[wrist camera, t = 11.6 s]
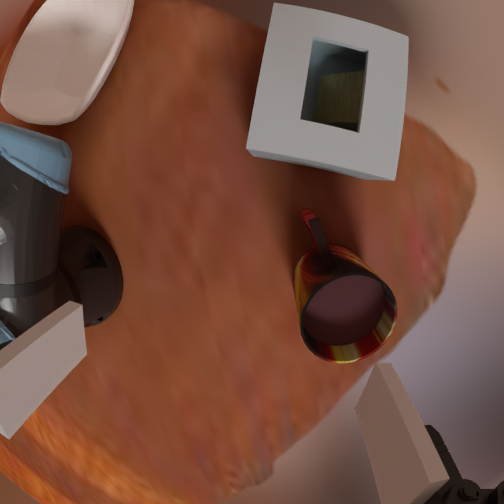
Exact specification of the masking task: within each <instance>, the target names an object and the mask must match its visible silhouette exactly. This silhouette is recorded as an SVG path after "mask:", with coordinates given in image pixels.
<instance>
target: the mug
mask: <svg viewBox="0 0 504 504" xmlns="http://www.w3.org/2000/svg"><path fill="white" fill-rule="evenodd" d="M300 212H301V215H302V217H303V220H304V222H305V225H306V227H307V229H308V232H309V234H310V236H311V239H312V241H313V244H314V246H315V248H313V249H311V250H310V251H308V252H307V253H306V254H305V255H304V256H303V257H302V258H301V259H300V261H299V262H298V264H297V266H296V268H295V271H294V274H293V288H294V294H295V300H296V306H297V312H298V318H299V324H300V330H301V335H302V338H303V341H304V343H305V344H306V346H307V347H308V349H309V350H310V351H311V352H312V353H313V354H314V355H316V356H318V357H319V358H321V359H323V360H326V361H329V362H333V363H350V362H355V361H359V360H361V359H364V358H366V357H368V356H370V355H371V354H373V353H374V352H376V351H377V350H378V349H379V348H381V346H382V345H383V344H384V343H385V342H386V341H387V339H388V338H389V336H390V335H391V333H392V331H393V329H394V326H395V323H396V318H397V304H396V300H395V297H394V295H393V293H392V291H391V289H390V288H389V287H388V286H387V284H386V283H385V282H384V281H383V280H382V279H381V278H380V277H379V276H378V275H377V274H376V273H375V272H374V271H373V270H372V269H371V268H370V267H369V266H368V265H367V264H366V263H365V262H364V261H362V260H361V259H360V258H359V257H358V256H357V255H356V254H355V253H354V252H353V251H352V250H350V249H349V248H347V247H345V246H342V245H338V244H328V242H327V239H326V237H325V234H324V232H323V229H322V227H321V224H320V221H319V219H318V218H317V217H316V216H315V215H314V214H313V213H312V212H311V211H310V210H309V209H305V210H302V211H300Z"/></svg>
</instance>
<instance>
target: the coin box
mask: <svg viewBox="0 0 504 504" xmlns="http://www.w3.org/2000/svg"><path fill="white" fill-rule="evenodd" d="M408 38H409V37H408V36H405V35H403V34H400V33H397V32H394V31H392V30H389V29H386V28H383V27H380V26H377V25H374V24H371V23H367V22H364V21H361V20H357V19H354V18H350V17H346V16H342V15H338V14H334V13H330V12H325V11H321V10H316V9H311V8H305V7H300V6H294V5H287V4H280V3H274V5H273V10H272V15H271V20H270V24H269V29H268V34H267V39H266V44H265V49H264V54H263V59H262V65H261V70H260V75H259V80H258V85H257V91H256V96H255V101H254V107H253V112H252V118H251V123H250V129H249V134H248V140H247V146H246V149H247V150H248V151H249V152H250V153H251V154H252V156H253V157H260V158H265V159H271V160H277V161H282V162H288V163H293V164H298V165H303V166H308V167H313V168H317V169H322V170H327V171H331V172H336V173H340V174H344V175H348V176H353V177H357V178H361V179H367V180H391V181H395V177H396V171H397V165H398V158H399V152H400V145H401V137H402V129H403V121H404V111H405V101H406V88H407V72H408V71H407V70H408V41H409V39H408ZM358 71H365V74H364V83H363V92H362V100H361V108H360V116H359V123H358V130H346V129H342V128H338V127H334V126H329V125H325V124H320V123H316V122H313V119H314V113H315V106H316V100H317V93H318V87H319V80H320V76H323V75H331V74H339V73H348V72H358Z"/></svg>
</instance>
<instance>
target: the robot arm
mask: <svg viewBox="0 0 504 504" xmlns="http://www.w3.org/2000/svg"><path fill="white" fill-rule="evenodd" d="M71 164H72V151H71V148H70V147H69V145H68V144H67V143H66V142H65V141H63V140H60V139H58V138H55V137H52V136H49V135H45V134H42V133H39V132H35V131H32V130H29V129H26V128H22V127H19V126H15V125H12V124H8V123H4V122H0V433H1V434H2V435H4V436H5V437H6V438H8V439H10V438H11V437H12V436H13V435H14V433H15V432H16V431H17V430H18V429H19V428H20V427H21V425H22V424H23V423H24V422H25V421H26V420H27V419H28V417H29V416H30V415H31V414H32V413H33V412H34V411H35V410H36V408H37V407H38V406H39V405H40V404H41V403H42V402H43V401H44V400H45V399H46V397H47V396H48V395H49V394H50V393H51V392H52V391H53V390H54V389H55V388H56V387H57V385H58V384H59V383H60V382H61V381H62V380H63V379H64V378H65V377H66V376H67V375H68V374H69V373H70V372H71V371H72V369H73V368H74V367H75V366H76V365H77V364H78V363H79V362H80V361H81V360H82V359H83V358H84V357H85V356H86V355H87V350H86V341H85V332H84V328H85V327H89V326H94V325H97V324H99V323H101V322H103V321H105V320H106V319H107V318H108V317H109V316H110V315H111V314H113V313H114V311H115V310H116V309H117V307H118V306H119V304H120V301H121V298H122V294H123V277H122V271H121V267H120V264H119V262H118V259H117V257H116V255H115V253H114V251H113V250H112V248H111V247H110V245H109V244H108V243H107V242H106V241H105V240H104V239H103V238H102V237H101V236H100V235H99V234H97V233H96V232H94V231H93V230H91V229H88V228H86V227H81V226H72V227H68V228H65V229H62V230H61V228H62V220H63V213H64V207H65V201H66V195H67V194H68V193H69V187H68V183H69V177H70V170H71ZM355 410H356V413H357V417H358V420H359V424H360V427H361V430H362V434H363V437H364V440H365V444H366V448H367V451H368V455H369V459H370V462H371V466H372V470H373V473H374V477H375V481H376V485H377V488H378V493H379V497H380V501H381V504H504V481H502V482H501V483H500V484H499V485H498V486H497V487H496V488H495V489H480V487H479V486H478V485H477V484H476V483H475V482H473V481H471V480H467V479H462V477H461V475H460V473H459V471H458V469H457V467H456V465H455V463H454V461H453V459H452V457H451V455H450V453H449V452H448V449H447V447H446V445H445V444H444V441H443V439H442V437H441V435H440V434H439V432H437V430H435V429H434V428H433V427H432V426H431V425H424V424H423V422H422V420H421V418H420V416H419V414H418V412H417V411H416V409H415V407H414V405H413V403H412V401H411V399H410V397H409V396H408V394H407V392H406V390H405V388H404V386H403V384H402V383H401V381H400V379H399V377H398V375H397V373H396V372H395V370H394V368H393V366H392V364H391V363H379V362H376V363H375V365H374V368H373V370H372V372H371V375H370V377H369V379H368V382H367V384H366V386H365V388H364V390H363V392H362V395H361V397H360V399H359V401H358V403H357V405H356V407H355Z"/></svg>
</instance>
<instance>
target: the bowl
mask: <svg viewBox="0 0 504 504" xmlns="http://www.w3.org/2000/svg"><path fill="white" fill-rule="evenodd" d="M134 1H135V0H47V1H46V2H45V3H44V4H43V5H42V6H41V8H40V9H39V10H38V11H37V12H36V14H35V15H34V17H33V18H32V20H31V21H30V23H29V24H28V26H27V27H26V29H25V31H24V33H23V35H22V36H21V38H20V40H19V42H18V44H17V46H16V48H15V50H14V53H13V55H12V58H11V60H10V63H9V65H8V68H7V71H6V75H5V78H4V82H3V86H2V92H1V99H0V102H1V104H2V105H3V106H4V108H5V109H6V111H7V112H8V113H10V114H11V115H13V116H14V117H16V118H18V119H20V120H23V121H25V122H27V123H33V124H39V125H60V124H64V123H68V122H72V121H74V120H76V119H77V118H78V117H79V116H80V115H81V114H82V113H83V112H84V111H85V110H86V109H87V108H88V107H89V105H90V104H91V103H92V101H93V100H94V99H95V97H96V96H97V94H98V92H99V91H100V89H101V87H102V86H103V84H104V82H105V81H106V79H107V77H108V75H109V73H110V71H111V69H112V67H113V66H114V64H115V62H116V60H117V57H118V55H119V52H120V50H121V48H122V46H123V43H124V40H125V38H126V35H127V32H128V29H129V26H130V21H131V17H132V12H133V6H134Z"/></svg>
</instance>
